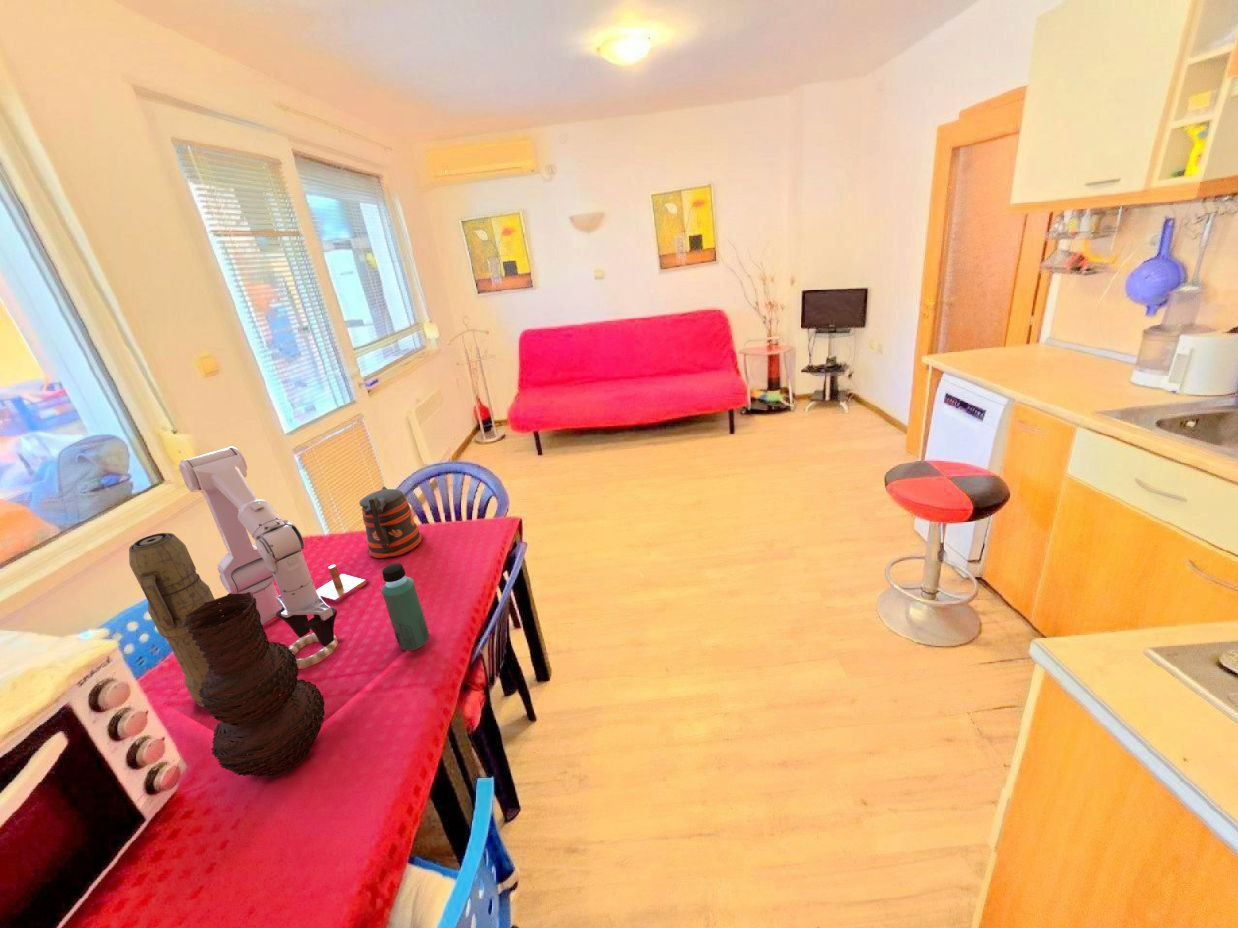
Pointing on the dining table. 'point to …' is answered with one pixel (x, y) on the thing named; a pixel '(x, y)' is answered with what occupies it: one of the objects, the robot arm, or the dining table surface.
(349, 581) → the stand
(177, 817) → the dining table surface
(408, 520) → the beer stein
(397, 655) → the dining table surface
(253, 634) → the vase
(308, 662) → the ring
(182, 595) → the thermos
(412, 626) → the beverage bottle
